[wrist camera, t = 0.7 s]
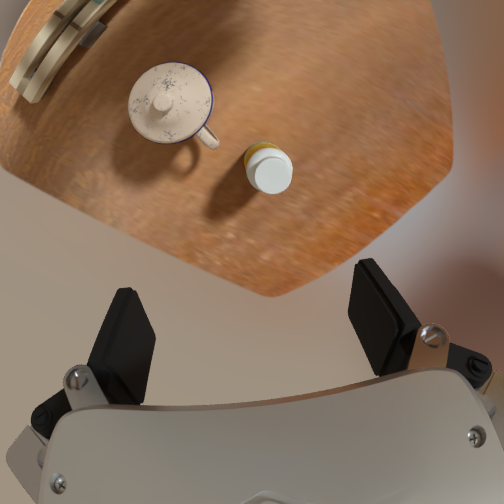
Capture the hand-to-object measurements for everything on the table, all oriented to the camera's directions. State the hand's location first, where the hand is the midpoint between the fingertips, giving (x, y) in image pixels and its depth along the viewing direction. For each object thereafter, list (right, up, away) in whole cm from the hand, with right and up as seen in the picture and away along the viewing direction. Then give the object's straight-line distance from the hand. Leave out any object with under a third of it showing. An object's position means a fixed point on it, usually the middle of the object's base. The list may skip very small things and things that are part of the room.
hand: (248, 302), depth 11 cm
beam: (-24, +34, +11) cm, 43 cm away
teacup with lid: (-8, +21, +21) cm, 31 cm away
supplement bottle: (+2, +15, +25) cm, 29 cm away
